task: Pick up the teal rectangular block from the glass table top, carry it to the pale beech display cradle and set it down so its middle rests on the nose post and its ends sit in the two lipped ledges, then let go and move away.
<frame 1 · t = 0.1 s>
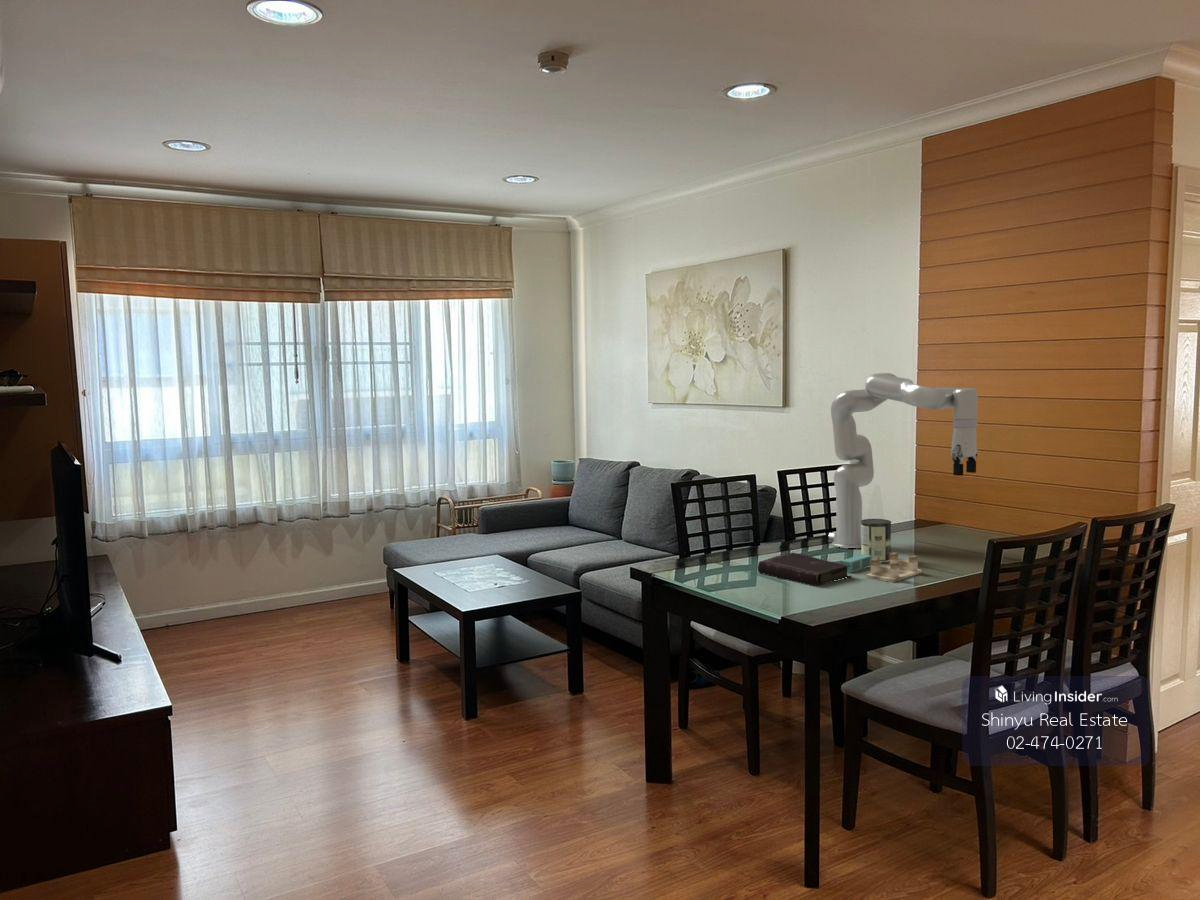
hand: (964, 473, 295), 31 cm above the table, tool pointing down, fingers open, 9 cm apart
teal rectangular block: (856, 569, 295), on the table
coffee can: (875, 560, 307), on the table
display cradle: (894, 575, 284), on the table
diary: (804, 577, 288), on the table
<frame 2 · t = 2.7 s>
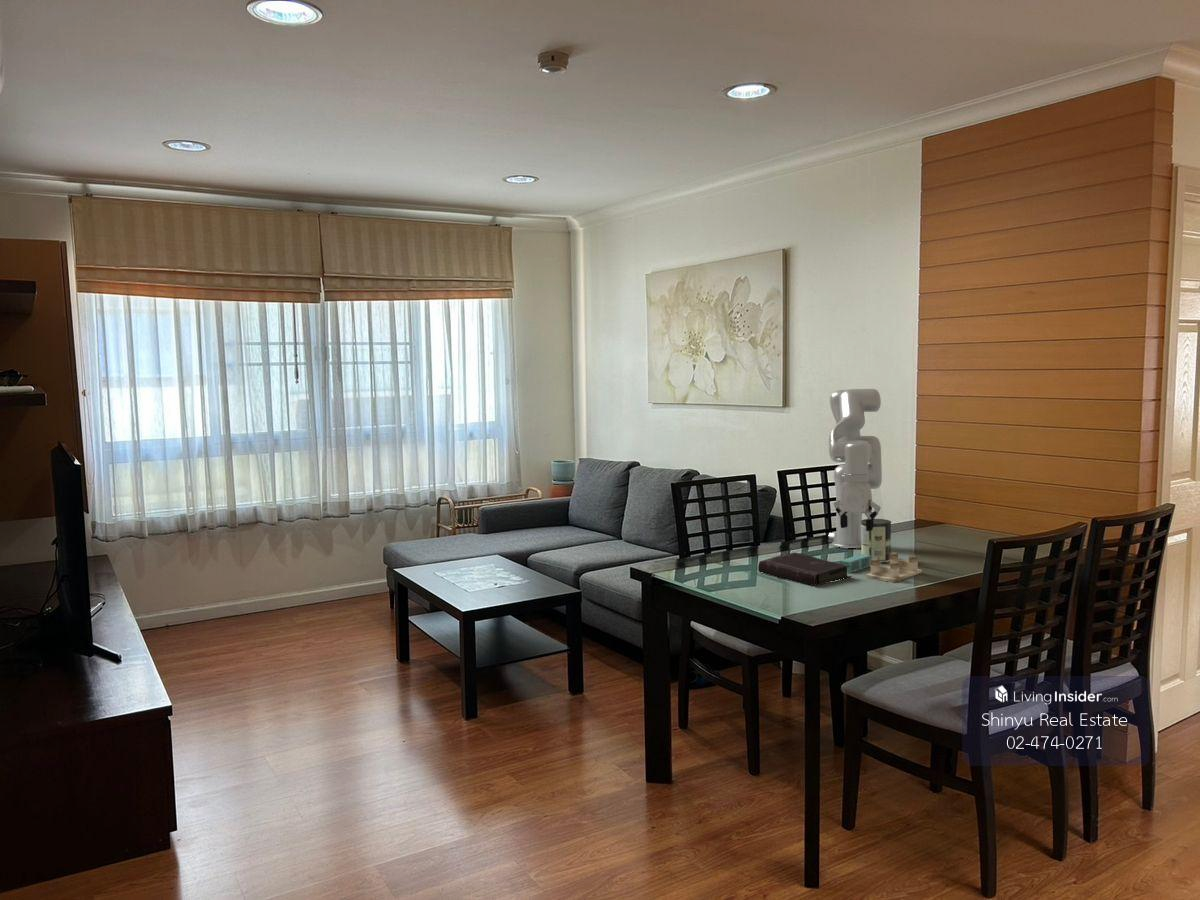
hand: (856, 529, 293), 14 cm above the table, tool pointing down, fingers open, 9 cm apart
nothing on the table moved.
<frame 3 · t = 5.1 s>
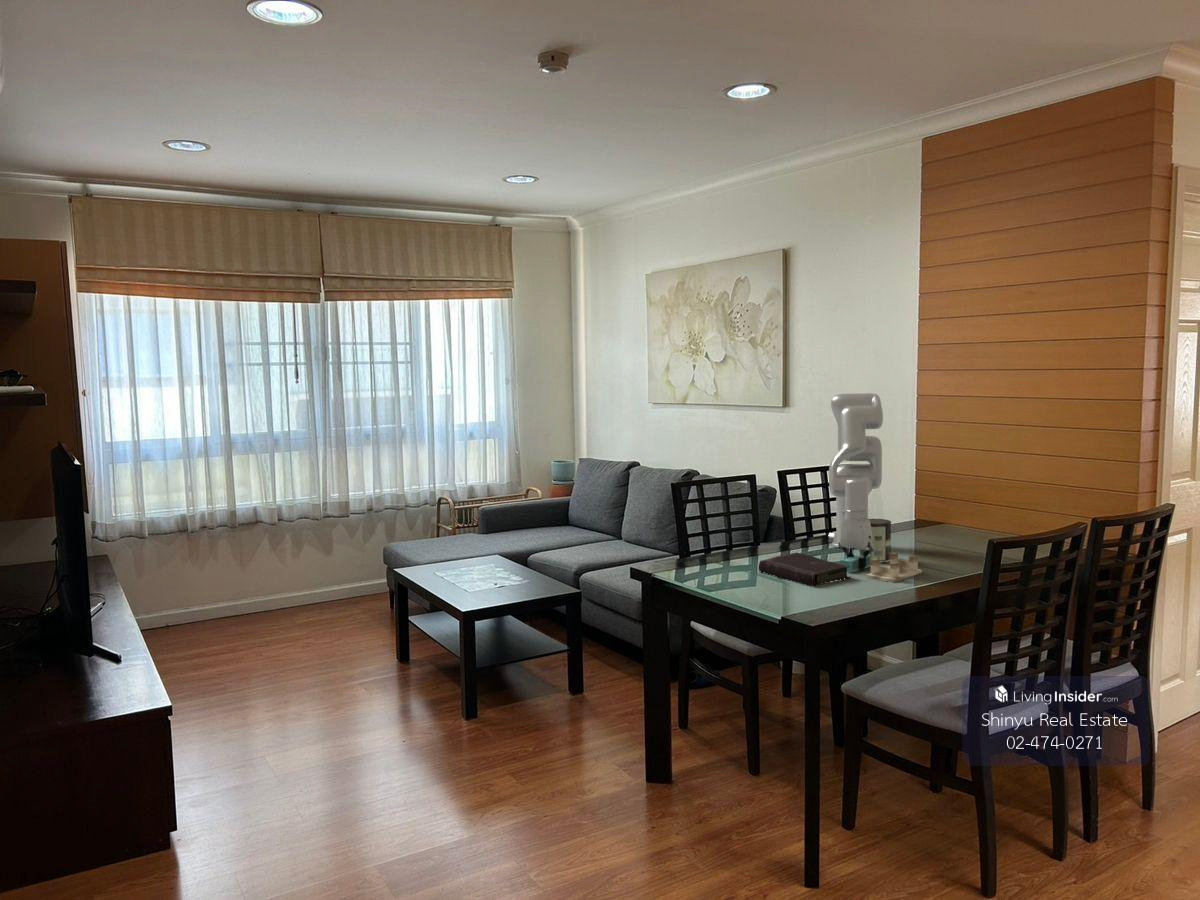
hand: (856, 567, 294), 1 cm above the table, tool pointing down, fingers closed on teal rectangular block, 3 cm apart
teal rectangular block: (856, 568, 295), on the table, touching gripper
everything else where it was.
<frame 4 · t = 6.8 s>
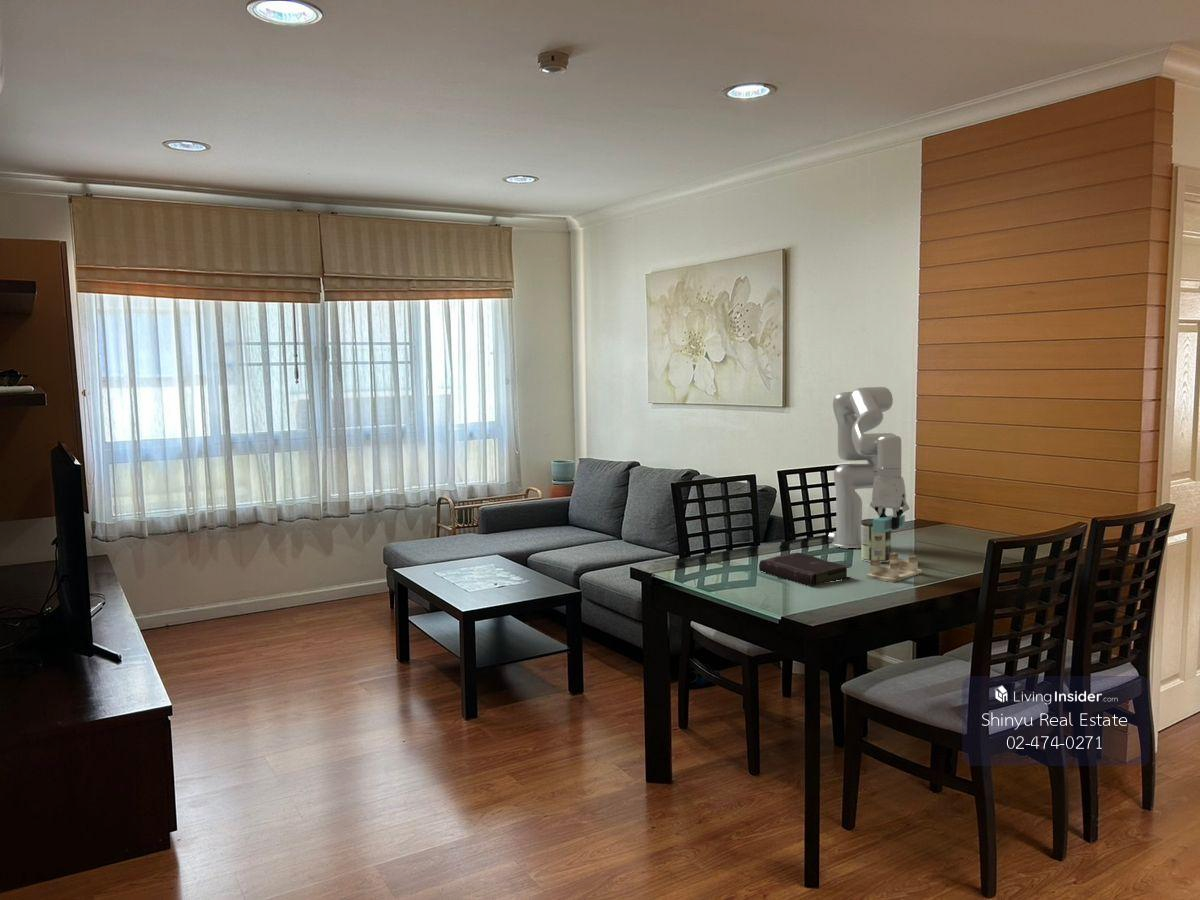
hand: (889, 527, 284), 16 cm above the table, tool pointing down, fingers closed on teal rectangular block, 3 cm apart
teal rectangular block: (888, 529, 284), point 15 cm above the table, touching gripper
everything else where it was.
when the fingers open (6 cm above the table, at t = 9.1 s): teal rectangular block drops 1 cm, resting on display cradle.
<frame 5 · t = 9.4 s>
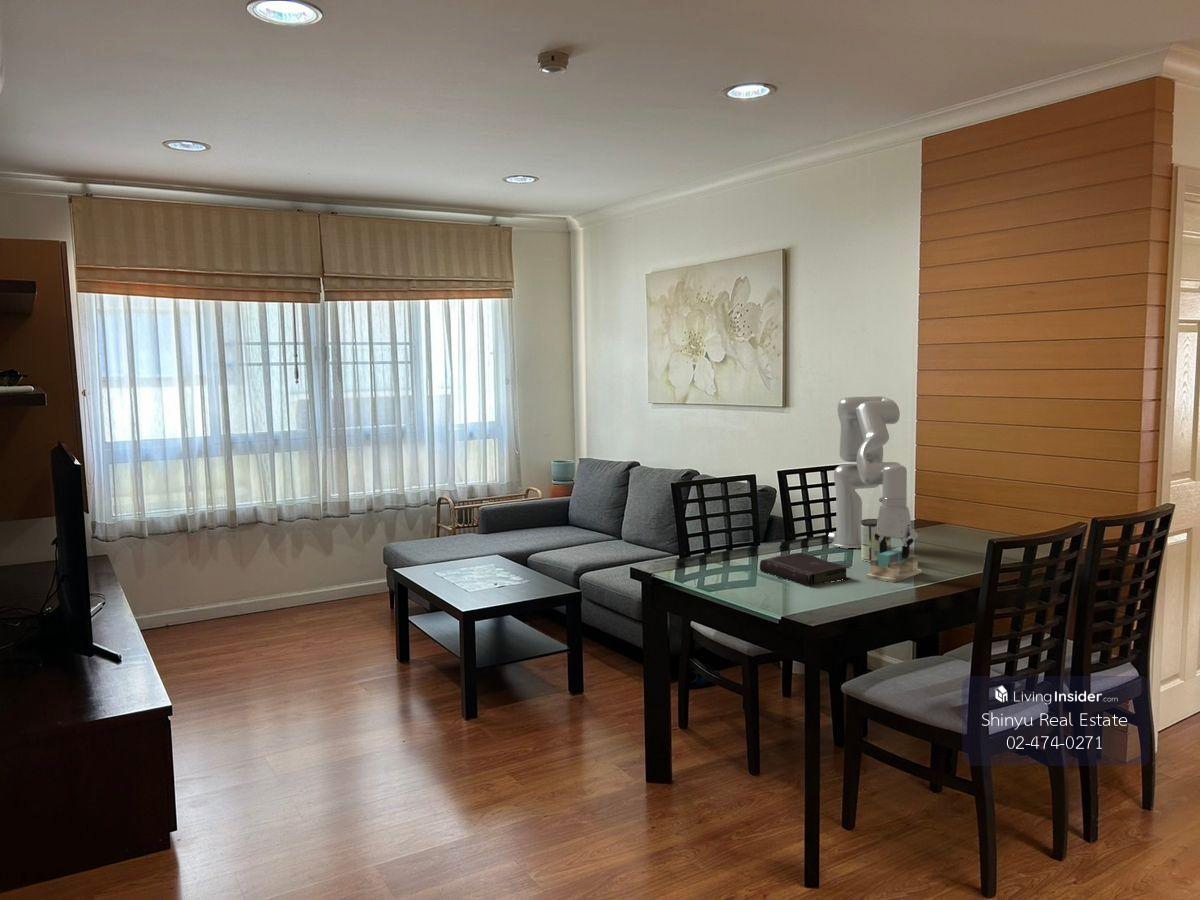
hand: (894, 555, 284), 7 cm above the table, tool pointing down, fingers open, 7 cm apart
teal rectangular block: (893, 563, 284), point 4 cm above the table, touching display cradle
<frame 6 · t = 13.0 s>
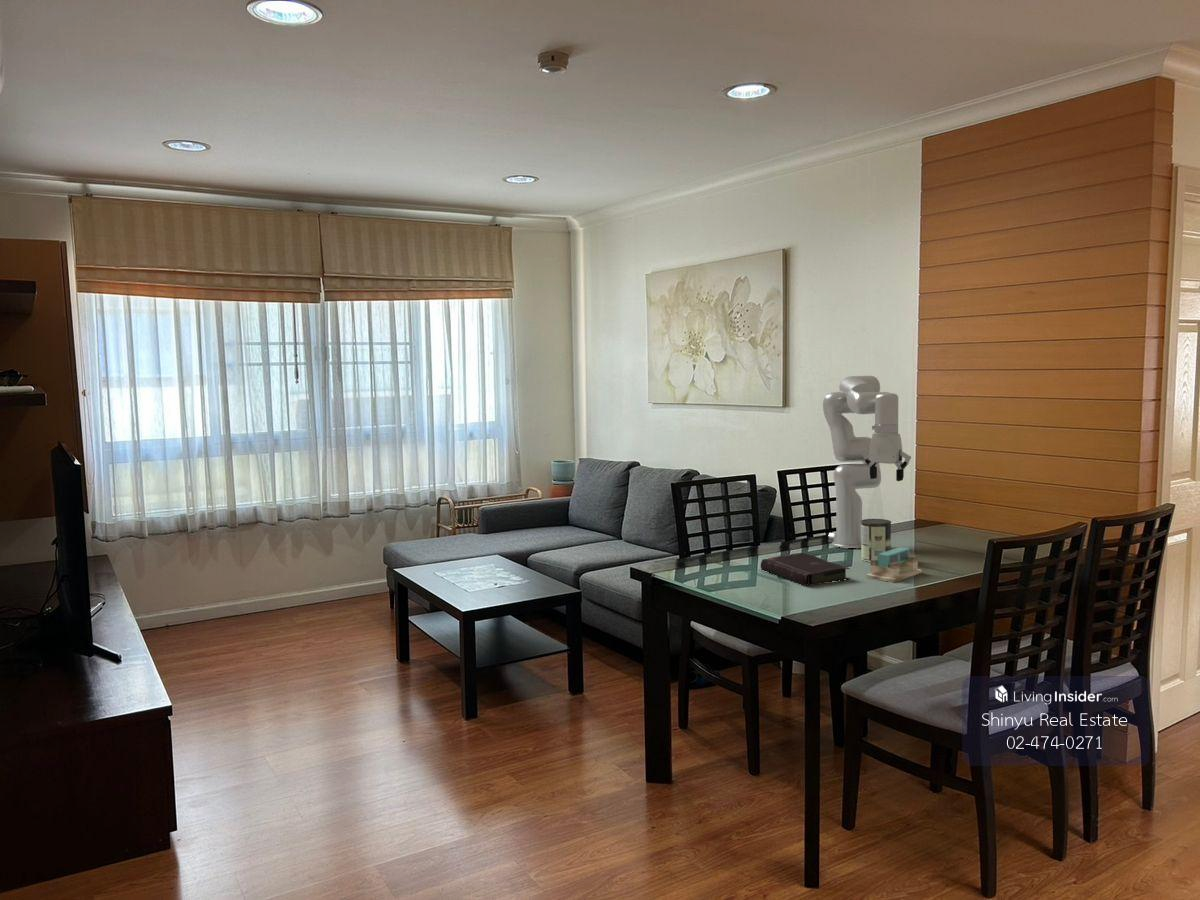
hand: (886, 479, 293), 30 cm above the table, tool pointing down, fingers open, 9 cm apart
at the end: teal rectangular block 0.1 cm off-centre on the display cradle, point 4.0 cm above the display cradle's base; teal rectangular block tilted 0°; the gripper is holding nothing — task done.
